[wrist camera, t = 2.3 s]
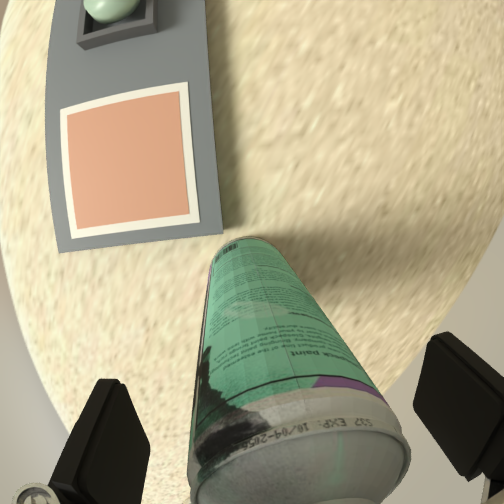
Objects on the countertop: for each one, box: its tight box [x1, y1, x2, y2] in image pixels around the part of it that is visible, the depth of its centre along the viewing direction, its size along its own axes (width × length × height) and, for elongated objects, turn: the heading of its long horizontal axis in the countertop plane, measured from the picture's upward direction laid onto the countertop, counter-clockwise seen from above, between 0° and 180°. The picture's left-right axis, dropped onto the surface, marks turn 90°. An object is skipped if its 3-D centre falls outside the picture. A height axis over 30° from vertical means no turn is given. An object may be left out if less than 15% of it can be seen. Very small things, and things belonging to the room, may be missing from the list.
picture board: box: [45, 0, 223, 253], centre depth 17 cm, size 22×12×3 cm, turn 5°
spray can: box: [187, 237, 411, 504], centre depth 13 cm, size 6×6×20 cm
